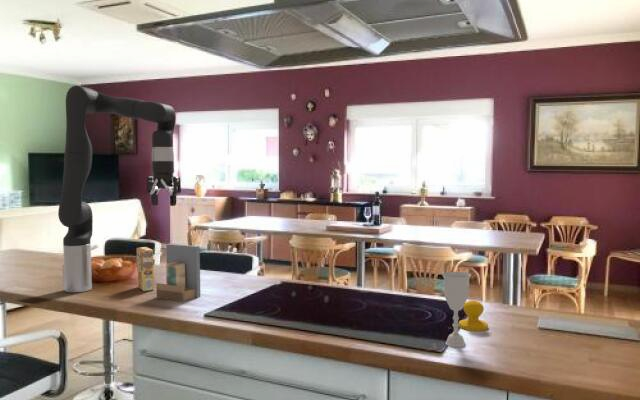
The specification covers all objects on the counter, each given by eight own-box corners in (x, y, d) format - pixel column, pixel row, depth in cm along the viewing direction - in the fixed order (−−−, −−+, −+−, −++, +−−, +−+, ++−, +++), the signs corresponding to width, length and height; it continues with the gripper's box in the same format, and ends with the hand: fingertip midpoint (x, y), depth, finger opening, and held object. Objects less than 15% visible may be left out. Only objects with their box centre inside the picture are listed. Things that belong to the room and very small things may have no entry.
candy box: (154, 290, 197) (153, 249, 196) (143, 291, 195) (142, 250, 194) (148, 285, 204) (147, 246, 204) (136, 287, 202) (135, 247, 201)
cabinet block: (166, 289, 185) (165, 264, 184) (174, 287, 189) (174, 262, 188) (177, 290, 183) (176, 265, 182) (185, 288, 186) (184, 263, 186)
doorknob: (454, 328, 149) (463, 321, 156) (483, 332, 145) (491, 325, 151) (455, 302, 149) (464, 296, 155) (483, 306, 144) (491, 299, 151)
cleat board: (154, 297, 186) (153, 246, 185) (170, 292, 193) (169, 243, 192) (185, 301, 180) (184, 249, 178) (200, 296, 187) (199, 246, 185)
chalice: (465, 339, 139) (466, 271, 138) (474, 348, 132) (474, 277, 131) (438, 339, 139) (438, 272, 138) (445, 348, 132) (445, 277, 131)
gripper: (185, 160, 188) (186, 205, 189) (155, 160, 195) (156, 204, 196) (170, 159, 181) (171, 206, 182) (140, 160, 188) (141, 205, 189)
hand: (163, 205), depth 189 cm, fingers open, 8 cm apart
